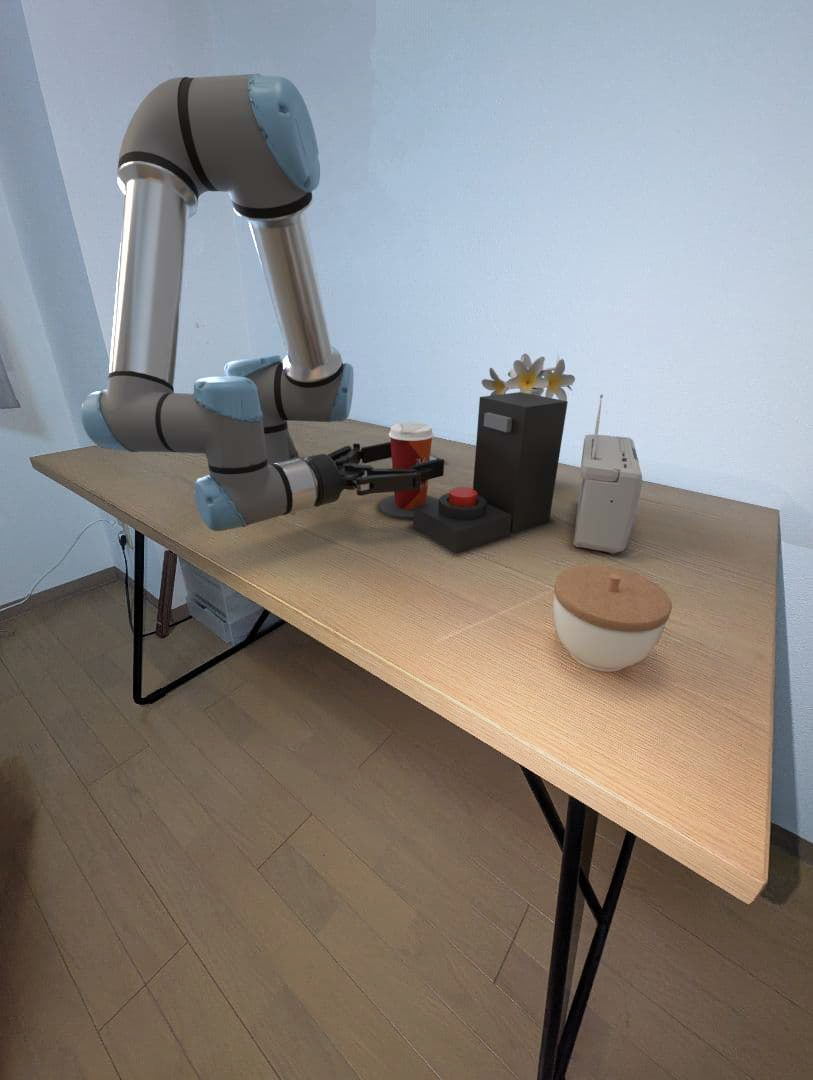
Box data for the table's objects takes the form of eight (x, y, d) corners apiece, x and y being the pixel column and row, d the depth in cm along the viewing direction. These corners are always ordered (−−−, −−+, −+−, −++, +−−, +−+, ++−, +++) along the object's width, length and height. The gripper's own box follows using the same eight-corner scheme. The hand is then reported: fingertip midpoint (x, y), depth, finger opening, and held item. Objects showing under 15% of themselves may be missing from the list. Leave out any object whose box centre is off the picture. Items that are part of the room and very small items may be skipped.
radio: (625, 559, 68) (659, 421, 59) (566, 550, 71) (590, 415, 62) (620, 508, 86) (645, 395, 77) (573, 502, 88) (592, 392, 79)
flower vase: (465, 484, 97) (474, 354, 85) (524, 468, 107) (538, 349, 96) (514, 503, 87) (531, 360, 76) (573, 483, 98) (596, 354, 86)
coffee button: (442, 501, 75) (443, 490, 74) (464, 495, 77) (464, 485, 76) (460, 510, 71) (461, 499, 71) (482, 504, 74) (483, 493, 73)
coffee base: (413, 527, 78) (414, 496, 75) (464, 513, 83) (466, 483, 81) (455, 553, 70) (457, 519, 67) (509, 536, 75) (513, 504, 73)
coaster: (369, 503, 87) (369, 500, 87) (418, 492, 92) (418, 489, 92) (401, 524, 79) (402, 521, 78) (453, 510, 84) (453, 507, 84)
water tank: (466, 514, 83) (474, 397, 74) (507, 502, 88) (519, 391, 79) (507, 534, 75) (521, 407, 67) (549, 521, 80) (568, 401, 72)
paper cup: (428, 514, 81) (430, 433, 75) (384, 510, 83) (383, 431, 76) (434, 498, 88) (437, 423, 82) (394, 495, 89) (394, 420, 83)
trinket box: (539, 672, 47) (553, 593, 43) (550, 613, 56) (562, 543, 52) (657, 701, 44) (684, 618, 40) (648, 634, 53) (670, 561, 49)
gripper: (273, 484, 81) (374, 461, 93) (354, 534, 63) (465, 498, 75) (268, 441, 77) (373, 423, 89) (352, 481, 60) (468, 452, 72)
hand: (415, 457), depth 82 cm, fingers open, 13 cm apart
